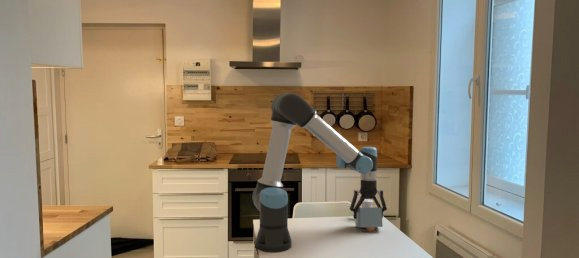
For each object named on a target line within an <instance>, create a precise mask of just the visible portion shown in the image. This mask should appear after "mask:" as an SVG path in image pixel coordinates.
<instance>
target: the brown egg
mask: <svg viewBox="0 0 579 258" xmlns="http://www.w3.org/2000/svg"><path fill="white" fill-rule="evenodd" d="M366 229H367V230H369V231H368V232H373V231H372V230H374V229H375V227H366Z"/></svg>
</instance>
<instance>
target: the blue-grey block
mask: <svg viewBox="0 0 579 258" xmlns="http://www.w3.org/2000/svg"><path fill="white" fill-rule="evenodd" d="M382 208H383V207H382ZM382 208H378V207H372V208H362V207H359V208H358V211H357V212H358V226H356V228H357V227H378V228H383V226H384V225H383V218H382Z"/></svg>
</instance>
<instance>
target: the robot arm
mask: <svg viewBox="0 0 579 258" xmlns="http://www.w3.org/2000/svg"><path fill="white" fill-rule="evenodd" d="M270 122H271V124H272V128H271V133H270V138H269V142H268V147H267V152H266V157H265V162H264V167H263V171H262V176H261V178H259V179H257V183H256V187H255V188H254V190H253V192H252V203H253V206H254V207H255V208H256V209H257V210H258V211H259V228H258V232H257V234H256V238H255V241H254V243H255V244H254V245H255V246H254V247H255V248H256V249H257V250H260V251H263V252H268V253H276V252H277V253H278V252H283V251H286V250H289V249H290V248H292V243H293V242H292V238H291V234H290V231H289V228H288V226H289V225H288V220H289V218H288V215H289V214H288V212H289V211H288V210H289V208H288V207H289V203H288V202H289V198H288V191H286V190H285V189H283V188H284V184H283V183H282V181H281V180H282V177H283V173H284V166H285V162H286V158H287V153H288V147H289V144H290V139H291V133H292V131H293V130H292V129H294V128H295V127H297V126H299V127H300V128H302V129H304V128H305V130H307V131H308V132H309V133H310V134H311V135H313V136H314V137H316V139H317V140H319V141H320V142H322V143H323V144H324V145H325V146H326V147H327V148H328V149H330V151H332V152H333V153H334V154H336V158H335V159H336V160H335V162H336V165H337V167H338V168H339V169H349V170H353V171H355V172H357V173H359V174H360V188H359V190H355V189H354V190H353V195H352V196H353V197H352V200H351V203H350V206H349V211H351V212H353V219H354V220H355V222H354V224H355V227H357V226H358V212H357V211H358V208H361V207H362V202H363V201H364V200H365V199H371V200H373V203H374V204H375V205H376V206H377V207H376V208H382V219H383V218H384V212H386V211H387V210H388V208H387V204H386V201H385V197H384V191H383V190H382V189H377V185H378V184H377V181H378V180H377V174H378V173H377V170H378V169H377V168H378V167H377V166H378V149H377V147H374V146H362V147H361V148H360V150H358V148H356V147H355V145H353V144H352V143H350V142H349V141H348V140H347V139H346V138H345V137H344V136H343V135H342V134H341V133H339V132H338V131H336V129H335V128H333V127H332V126H331V125H330V124H328V122H326V121H325V120H324V119H323V118H322V117H320V116H319V114H317V110H316V109H315V108H314V107H313V105H311V104H310V103H309V102H308V101H307V100H305V98H303V97H302V96H300V95H299V94H297V93H293V92H291V93H289V92H288V93H285V92H284V93H281V94H278V95H277V96H276V97H275V98H274V99H273V100H272V103H271V116H270ZM359 195H360V197H359V199H358V196H359ZM376 195H379V200H380V202H381V204H380V202H379V200H378V199H377V197H376ZM357 199H358V201H357Z"/></svg>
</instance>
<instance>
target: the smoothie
mask: <svg viewBox="0 0 579 258" xmlns="http://www.w3.org/2000/svg"><path fill="white" fill-rule="evenodd" d="M373 203H374V200H373V199H365V200H364V201H363V202H362V204H361V208H373Z"/></svg>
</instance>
